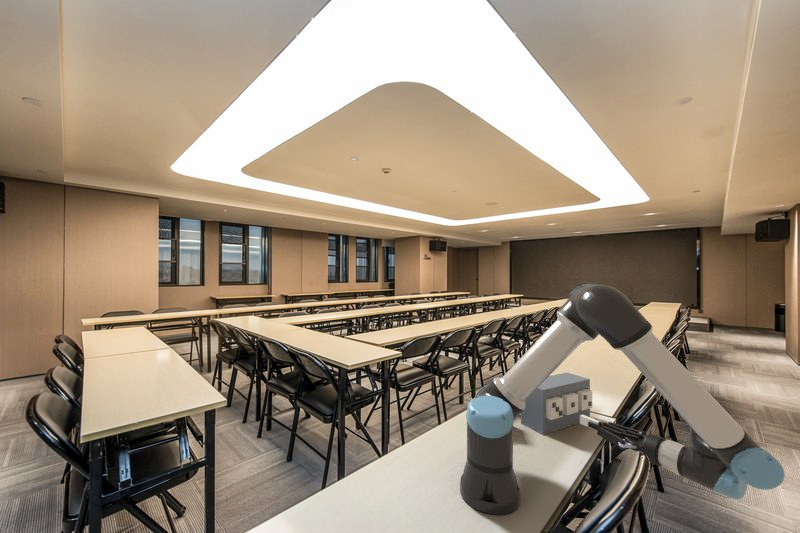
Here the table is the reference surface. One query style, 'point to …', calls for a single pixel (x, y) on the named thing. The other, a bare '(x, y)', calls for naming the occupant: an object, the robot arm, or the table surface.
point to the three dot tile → (554, 407)
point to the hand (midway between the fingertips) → (581, 419)
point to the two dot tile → (584, 399)
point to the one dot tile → (570, 403)
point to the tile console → (549, 388)
